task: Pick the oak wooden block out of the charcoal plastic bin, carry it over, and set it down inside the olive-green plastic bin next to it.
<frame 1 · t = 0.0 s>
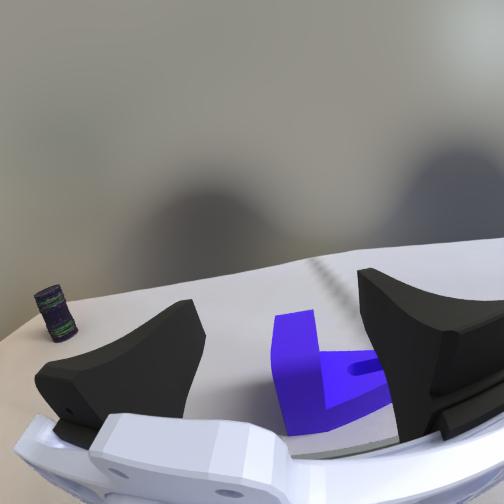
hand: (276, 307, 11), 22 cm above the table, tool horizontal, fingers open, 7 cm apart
storage jar: (65, 335, 67), on the table
bracket: (359, 395, 30), on the table
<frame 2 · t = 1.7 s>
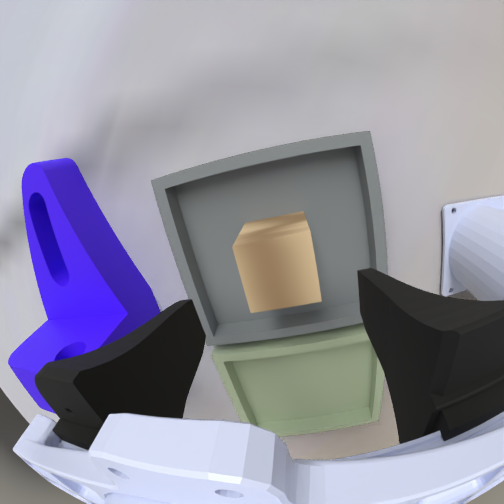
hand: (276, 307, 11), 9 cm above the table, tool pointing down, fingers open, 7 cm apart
olive bin: (307, 378, 24), on the table
oak block: (280, 244, 19), point 1 cm above the table, touching charcoal bin
charcoal bin: (280, 241, 20), on the table
bracket: (90, 250, 22), on the table
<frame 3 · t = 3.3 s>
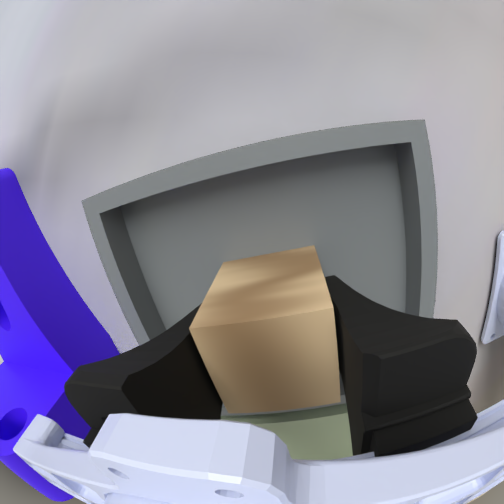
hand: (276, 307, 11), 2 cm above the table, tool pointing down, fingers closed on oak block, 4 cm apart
olive bin: (309, 438, 18), on the table
oak block: (277, 294, 12), point 1 cm above the table, touching charcoal bin, gripper
charcoal bin: (277, 286, 13), on the table
bracket: (39, 283, 16), on the table
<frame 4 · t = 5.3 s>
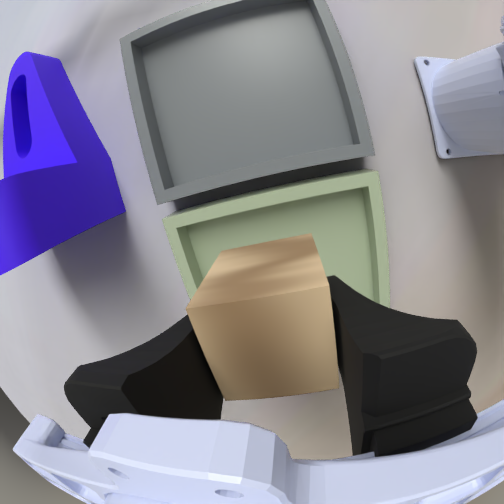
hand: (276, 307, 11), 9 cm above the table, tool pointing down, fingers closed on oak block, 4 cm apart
olive bin: (288, 273, 21), on the table
oak block: (275, 283, 13), point 8 cm above the table, touching gripper
charcoal bin: (241, 85, 16), on the table
bracket: (59, 137, 19), on the table
when the fingers open (3 cm above the table, at t = 7.4 s): oak block drops 1 cm, resting on olive bin.
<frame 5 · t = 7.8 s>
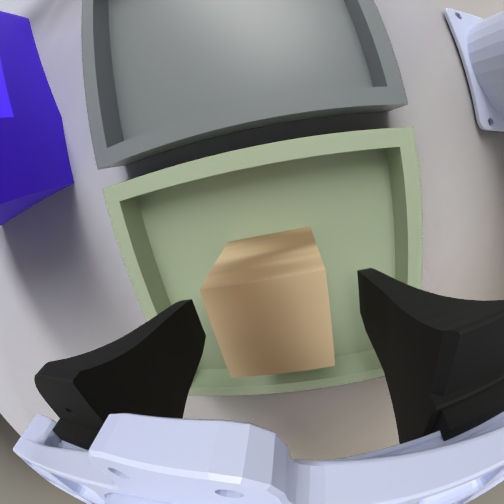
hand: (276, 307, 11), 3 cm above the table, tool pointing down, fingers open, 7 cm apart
olive bin: (278, 273, 15), on the table
oak block: (276, 272, 14), point 1 cm above the table, touching olive bin
charcoal bin: (223, 19, 10), on the table
bracket: (16, 100, 12), on the table
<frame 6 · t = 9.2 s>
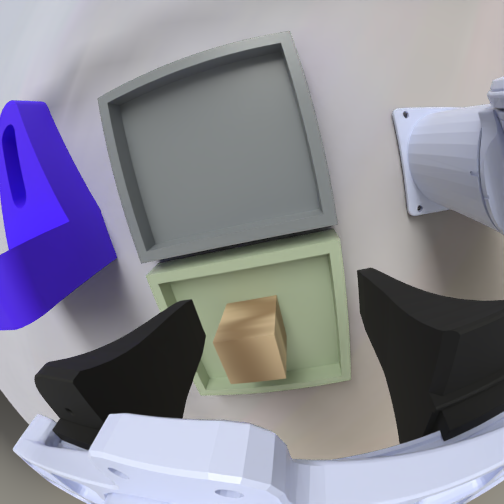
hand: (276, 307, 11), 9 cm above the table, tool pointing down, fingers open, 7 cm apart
olive bin: (259, 319, 23), on the table
oak block: (257, 320, 22), point 1 cm above the table, touching olive bin
charcoal bin: (214, 148, 18), on the table
bracket: (52, 182, 21), on the table
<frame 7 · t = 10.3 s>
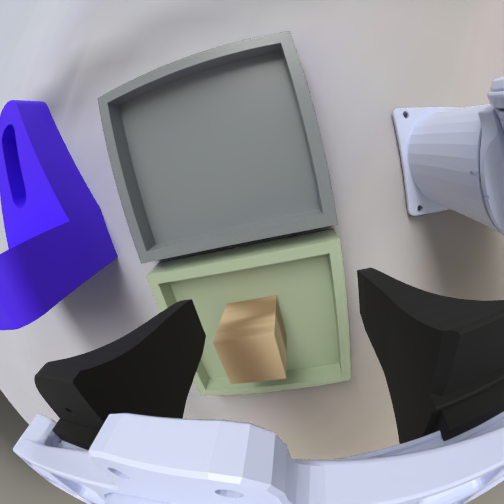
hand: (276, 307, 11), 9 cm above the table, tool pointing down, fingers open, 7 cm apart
olive bin: (259, 319, 23), on the table
oak block: (257, 320, 22), point 1 cm above the table, touching olive bin
charcoal bin: (214, 148, 18), on the table
bracket: (52, 182, 21), on the table
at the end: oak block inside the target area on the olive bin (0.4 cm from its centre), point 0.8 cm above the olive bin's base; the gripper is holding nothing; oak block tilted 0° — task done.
